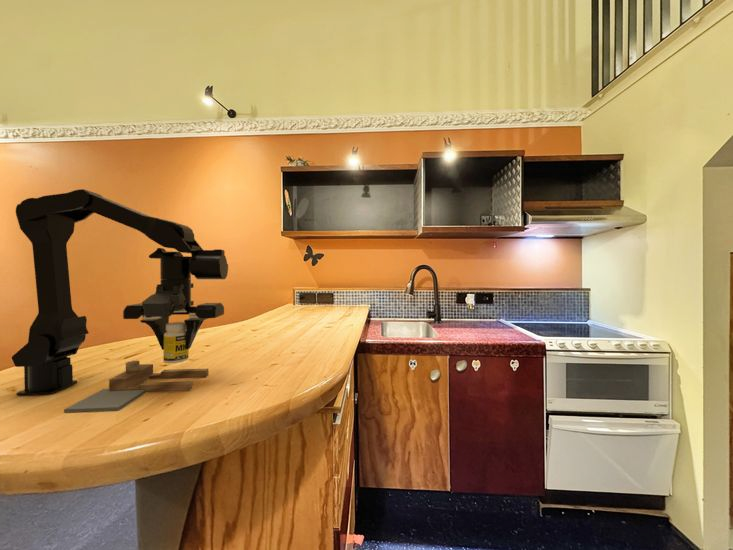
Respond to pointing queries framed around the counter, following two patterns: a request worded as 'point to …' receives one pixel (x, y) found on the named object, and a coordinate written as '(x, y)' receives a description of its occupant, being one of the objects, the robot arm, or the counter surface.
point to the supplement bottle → (175, 343)
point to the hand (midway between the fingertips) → (176, 349)
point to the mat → (105, 401)
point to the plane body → (141, 373)
